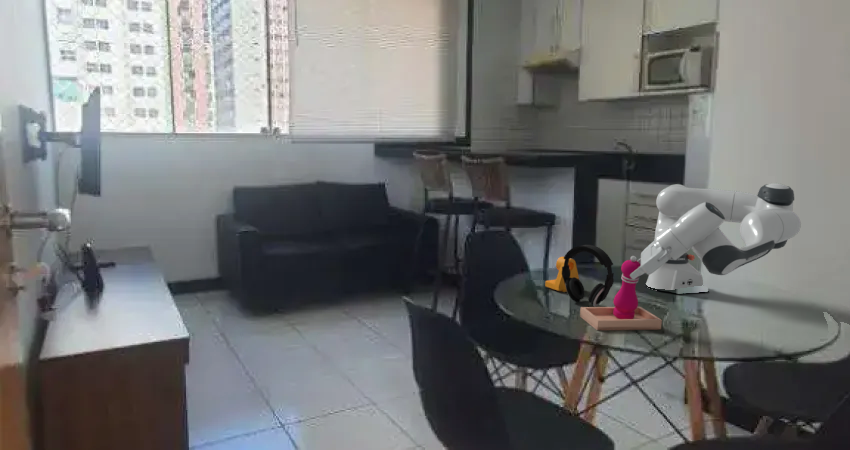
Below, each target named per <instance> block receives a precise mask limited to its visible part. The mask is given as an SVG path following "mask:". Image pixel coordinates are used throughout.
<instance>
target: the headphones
mask: <svg viewBox="0 0 850 450" xmlns="http://www.w3.org/2000/svg"><path fill="white" fill-rule="evenodd" d="M582 252H585V253H589V254H591V255H593V256H594V257H595V258H596V259H597V261H598V263H600V264H601V266H603V267H604V268H606V271H607V274H606V279H605V281H604V283H601V282H600V283H597V284H596V285H595V286H594V287H593V288H592V290H591V291H590V293H589V295H588V299H587V300H588V302H589V303H590V305H591V307H598V306H599V305H600V304H601V303H602V302H603V301H605V300H606V299H607V296H608V294H609V292H610V290H611V289H612V287H613V285H614V281H615V280H614V272H613V271H612V266H614V263H613V261H612V259H611V258H610V256H609V254H608V253H607V252H606V251H604V250H603V249H601V248H600V247H599V246H596V245H594V244H593V245H592V244H583V245H577V246H574V247H573V248H570V249H569V250H568V251H567V252H566V253H565V254H564V256H563V257H564V259H565V262H564V266H563V267H562V277H563V279H564V283H565V286H566V290H567V291H566V292H567V295H568V296H569V299H571V300H573V302H575V303H578V302H580V301H581V300H583V299H584V297H585V293H586V292H585V291H586V290H585V286H584V285H583V283H582V281H581V280H580V278H579V279H577V278H575V277H573V278H570V269H569V265H568V262H569V259H573V258H575V257H576V256H579V254H581V253H582Z"/></svg>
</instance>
